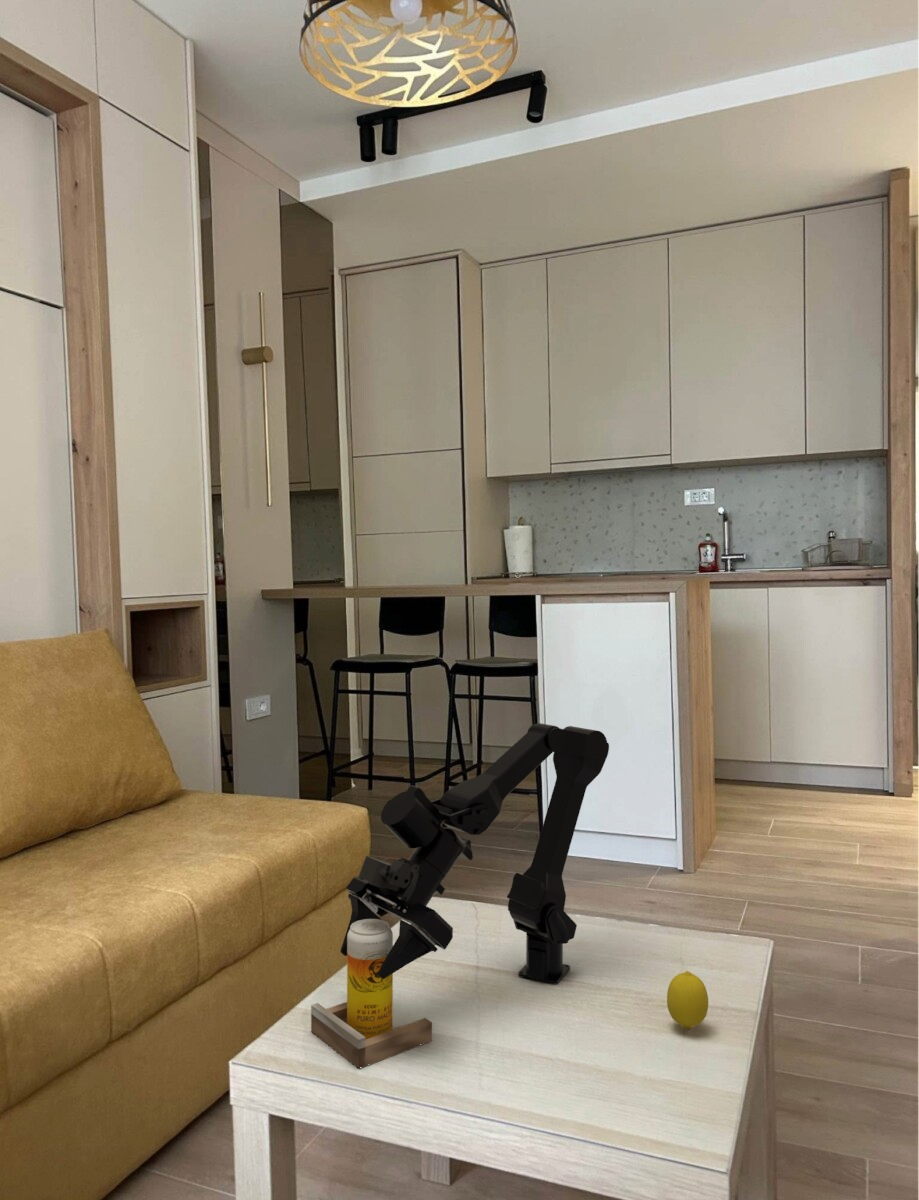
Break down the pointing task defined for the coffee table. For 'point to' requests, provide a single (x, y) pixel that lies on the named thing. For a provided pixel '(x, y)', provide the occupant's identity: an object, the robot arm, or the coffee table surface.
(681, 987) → the lemon
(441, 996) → the coffee table surface
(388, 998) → the beer can
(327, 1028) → the frame
